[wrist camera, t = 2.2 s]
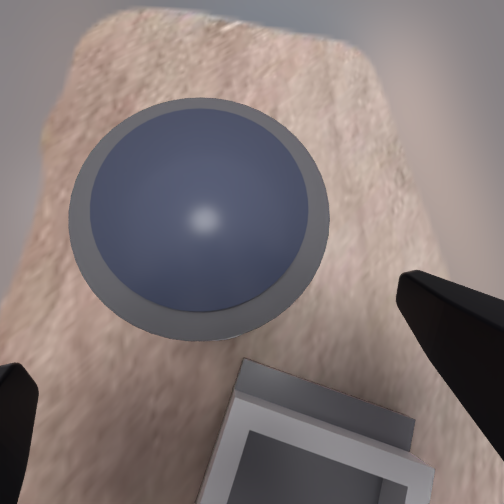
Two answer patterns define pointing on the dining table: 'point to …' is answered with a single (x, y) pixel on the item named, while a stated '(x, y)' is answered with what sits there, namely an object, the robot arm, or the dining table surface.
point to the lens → (199, 219)
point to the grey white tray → (310, 447)
